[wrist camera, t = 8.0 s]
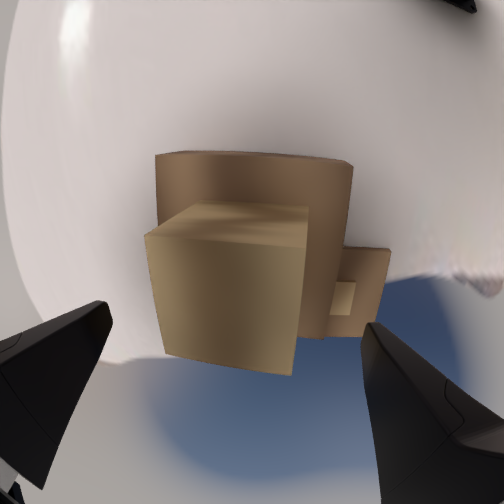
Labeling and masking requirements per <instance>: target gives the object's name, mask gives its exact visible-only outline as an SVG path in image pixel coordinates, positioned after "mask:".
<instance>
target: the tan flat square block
mask: <svg viewBox="0 0 504 504" xmlns="http://www.w3.org/2000/svg"><path fill="white" fill-rule="evenodd" d="M155 166H156V197H157V216H158V226H159V225H161V224H163V223H164V222H166V221H167V220H169V219H171V218H172V217H174V216H175V215H177V214H179V213H180V212H182V211H184V210H185V209H187V208H189V207H190V206H192V205H194V204H195V203H197V202H199V201H200V200H205V201H231V202H252V203H269V204H284V205H298V206H309V213H308V230H307V244H306V257H305V267H304V278H303V288H302V297H301V306H300V315H299V323H298V331H297V337H304V338H312V339H322V340H323V339H324V336H325V332H326V328H327V323H328V319H329V314H330V310H331V305H332V301H333V296H334V291H335V286H336V281H337V276H338V271H339V265H340V260H341V254H342V248H343V242H344V236H345V229H346V223H347V216H348V209H349V201H350V193H351V185H352V176H353V166H352V165H351V164H349V163H347V162H346V161H343V160H335V159H327V158H318V157H309V156H299V155H287V154H274V153H259V152H238V151H179V152H172V153H166V154H159V155H155Z"/></svg>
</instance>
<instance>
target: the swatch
mask: <svg viewBox="0 0 504 504" xmlns="http://www.w3.org/2000/svg"><path fill="white" fill-rule="evenodd" d="M390 256H391V251H390V250H389V249H383V248H366V247H348V246H343V248H342V254H341V260H340V265H339V271H338V276H337V281H336V286H335V291H334V296H333V301H332V305H331V310H330V314H329V319H328V323H327V328H326V332H325V336H324V337H363V333H364V330H365V326H366V324H367V323H368V322H375V319H376V315H377V311H378V308H379V304H380V300H381V296H382V291H383V288H384V284H385V279H386V275H387V270H388V266H389V261H390Z"/></svg>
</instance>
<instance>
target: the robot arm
mask: <svg viewBox="0 0 504 504" xmlns="http://www.w3.org/2000/svg"><path fill="white" fill-rule="evenodd" d="M443 1H446V2H448V3H450V4H453V5H455V6H457V7H459V8H461V9H464V10H466V11H468V12H470V13H472V14H474V13H476V12H477V9H476V5H475V2H474V0H443ZM471 8H472V9H471ZM112 325H113V319H112V316H111V313H110V309H109V306H108V304H107V302H105V301H99V300H97V301H94V302H92V303H89V304H87V305H85V306H82V307H80V308H77V309H75V310H73V311H70V312H68V313H65V314H63V315H61V316H58V317H56V318H54V319H51V320H49V321H47V322H44V323H42V324H40V325H37V326H35V327H33V328H31V329H28V330H26V331H24V332H21V333H19V334H17V335H14V336H12V337H9V338H7V339H4V340H2V341H0V504H25V503H24V500H23V496H22V492H21V489H20V485H19V484H18V483H17V482H16V481H15V479H16V477H17V475H18V474H20V475H21V476H22V477H24V478H25V479H26V480H28V481H29V482H31V483H32V484H33V485H35V486H36V487H38V488H39V489H41V490H42V489H43V487H44V485H45V482H46V479H47V476H48V473H49V471H50V468H51V465H52V462H53V460H54V457H55V455H56V452H57V449H58V446H59V444H60V442H61V439H62V437H63V434H64V432H65V430H66V427H67V425H68V423H69V420H70V418H71V416H72V414H73V411H74V409H75V407H76V405H77V402H78V401H79V398H80V396H81V394H82V392H83V390H84V388H85V386H86V384H87V382H88V380H89V378H90V376H91V374H92V372H93V370H94V368H95V366H96V364H97V362H98V360H99V358H100V355H101V353H102V350H103V348H104V345H105V343H106V340H107V338H108V335H109V333H110V331H111V328H112ZM361 357H362V367H363V379H364V389H365V394H366V399H367V405H368V409H369V415H370V421H371V427H372V433H373V439H374V445H375V453H376V460H377V467H378V474H379V484H380V493H381V498H382V499H381V504H504V419H502V418H501V417H500V416H498V415H497V414H495V413H494V412H492V411H491V410H489V409H488V408H487V407H485V406H484V405H482V404H481V403H479V402H478V401H477V400H475V399H474V398H472V397H471V396H470V395H468V394H467V393H466V392H464V391H463V390H462V389H461V388H459V387H458V386H457V385H456V384H454V383H453V382H452V381H451V380H450V379H448V378H447V377H446V376H445V375H444V374H442V373H441V372H440V371H439V370H438V369H436V368H435V367H434V366H433V365H431V364H430V363H429V362H428V361H427V360H425V359H424V358H423V357H422V356H420V355H419V354H418V353H417V352H416V351H414V350H413V349H412V348H411V347H409V346H408V345H407V344H406V343H404V342H403V341H402V340H401V339H400V338H398V337H397V336H396V335H395V334H393V333H392V332H391V331H390V330H388V329H387V328H386V327H385V326H383V325H382V324H381V323H379V322H368V323H367V324H366V326H365V330H364V333H363V337H362V340H361Z"/></svg>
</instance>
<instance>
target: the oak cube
mask: <svg viewBox="0 0 504 504" xmlns="http://www.w3.org/2000/svg"><path fill="white" fill-rule="evenodd" d="M308 213H309V206H298V205H284V204H269V203H252V202H231V201H205V200H200V201H199V202H197V203H195V204H194V205H192V206H190V207H189V208H187V209H185V210H184V211H182V212H180V213H179V214H177V215H175V216H174V217H172V218H171V219H169V220H167V221H166V222H164V223H163V224H161V225H159V226H158V227H156V228H155V229H153V230H152V231H150V232H149V233H147V234H145V235H144V237H145V245H146V252H147V259H148V266H149V272H150V279H151V285H152V290H153V296H154V301H155V307H156V312H157V317H158V322H159V326H160V331H161V336H162V340H163V345H164V349H165V353H166V354H169V355H173V356H178V357H182V358H187V359H191V360H196V361H201V362H206V363H211V364H216V365H221V366H227V367H233V368H239V369H245V370H252V371H259V372H266V373H274V374H282V375H291V374H292V368H293V361H294V354H295V346H296V338H297V331H298V323H299V315H300V306H301V297H302V288H303V278H304V267H305V257H306V244H307V230H308Z"/></svg>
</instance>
